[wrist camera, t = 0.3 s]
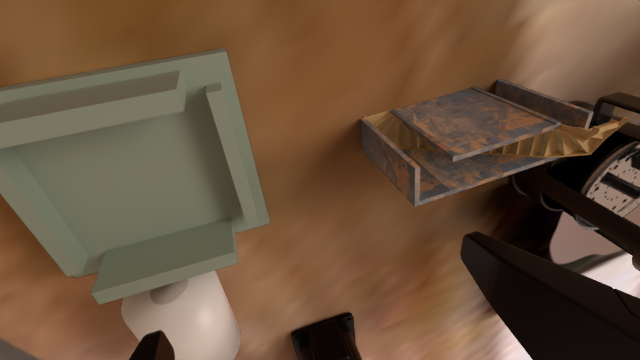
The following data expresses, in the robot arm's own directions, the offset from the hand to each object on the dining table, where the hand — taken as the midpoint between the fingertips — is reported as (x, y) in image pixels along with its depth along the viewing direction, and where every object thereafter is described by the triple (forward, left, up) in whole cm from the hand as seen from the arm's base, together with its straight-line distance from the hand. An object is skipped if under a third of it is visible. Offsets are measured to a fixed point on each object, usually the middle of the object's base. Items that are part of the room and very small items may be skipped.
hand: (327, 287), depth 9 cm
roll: (-13, +9, -14) cm, 21 cm away
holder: (-2, +8, -14) cm, 16 cm away
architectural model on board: (-3, -12, -15) cm, 19 cm away
